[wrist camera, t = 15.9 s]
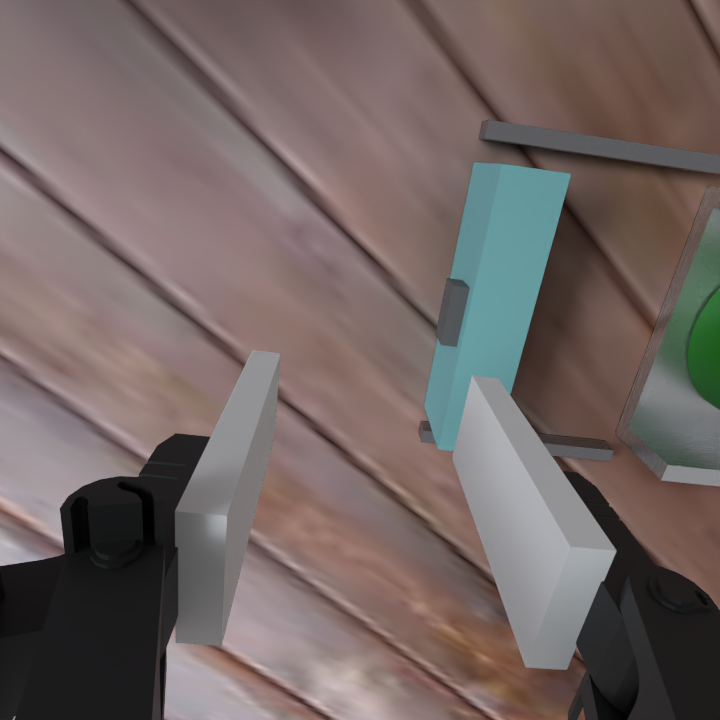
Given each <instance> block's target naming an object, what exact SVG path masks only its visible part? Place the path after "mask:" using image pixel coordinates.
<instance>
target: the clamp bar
mask: <svg viewBox="0 0 720 720" xmlns="http://www.w3.org/2000/svg"><path fill="white" fill-rule="evenodd" d="M570 177H571V174H568V173H561V172H555V171H548V170H541V169H534V168H528V167H521V166H514V165H507V164H497V163H477V162H474V164H473V169H472V174H471V179H470V184H469V188H468V193H467V198H466V203H465V208H464V213H463V218H462V223H461V227H460V232H459V237H458V242H457V247H456V252H455V257H454V262H453V266H452V271H451V276H450V278H447V281H446V286H445V290H444V295H443V300H442V305H441V310H440V315H439V320H438V325H437V330H436V336H437V338H438V340H437V344H436V349H435V354H434V359H433V364H432V369H431V374H430V379H429V383H428V388H427V393H426V398H425V403H424V407H425V410H426V413H427V416H428V419H429V423H430V426H431V429H432V432H433V435H434V439H435V442H436V445H437V448H438V450H448V451H454V448H455V444H456V440H457V436H458V432H459V427H460V423H461V419H462V415H463V411H464V407H465V402H466V398H467V394H468V390H469V386H470V382H471V377H472V375H473V376H482V377H491V378H499V380H500V381H501V383H502V384H503V386H504V387H505V389H506V390H507V392H508V393H509V395H510V394H511V391H512V387H513V384H514V380H515V376H516V373H517V369H518V365H519V362H520V358H521V354H522V351H523V347H524V344H525V340H526V336H527V333H528V329H529V325H530V322H531V318H532V315H533V311H534V307H535V304H536V300H537V296H538V293H539V289H540V286H541V282H542V278H543V275H544V271H545V267H546V264H547V260H548V257H549V253H550V249H551V246H552V242H553V238H554V235H555V231H556V228H557V224H558V220H559V217H560V213H561V209H562V206H563V202H564V198H565V195H566V191H567V188H568V184H569V180H570Z"/></svg>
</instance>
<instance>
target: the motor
mask: <svg viewBox="0 0 720 720" xmlns="http://www.w3.org/2000/svg"><path fill="white" fill-rule="evenodd" d="M688 368H689V373H690V377H691V380H692V382H693V384H694V386H695V388H696V390H697V391H698V392H699V394H700V395H701V396H702V397H703V398H704V399H705V400H706V401H707V402H709V403H710V404H711V405H713V406H714V407H716V408H717V409H719V410H720V288H719V289H718V290H717V291H716V293H715V294H714V295H713V296H712V297H711V299H710V300H709V301H708V303H707V304H706V306H705V307H704V309H703V310H702V312H701V314H700V316H699V318H698V319H697V322H696V324H695V326H694V329H693V332H692V335H691V338H690V342H689V348H688Z"/></svg>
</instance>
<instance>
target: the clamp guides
mask: <svg viewBox="0 0 720 720" xmlns="http://www.w3.org/2000/svg"><path fill="white" fill-rule="evenodd" d="M479 139H482V140H489V141H495V142H502V143H509V144H515V145H522V146H528V147H535V148H542V149H548V150H555V151H561V152H568V153H575V154H581V155H588V156H595V157H601V158H608V159H614V160H621V161H628V162H634V163H641V164H647V165H654V166H661V167H667V168H674V169H681V170H687V171H694V172H700V173H715V174H719V173H720V156H719V155H713V154H707V153H700V152H694V151H687V150H681V149H674V148H668V147H661V146H655V145H648V144H642V143H635V142H629V141H622V140H616V139H609V138H603V137H596V136H590V135H583V134H577V133H570V132H564V131H557V130H551V129H545V128H538V127H532V126H525V125H519V124H512V123H506V122H499V121H493V120H486V121H482V125H481V130H480V135H479ZM536 434H537V435H538V437H539V438H540V440H541V441H542V443H543V444H544V446H545V447H546V448H547V450H548V451H549V453H550V454H551V456H561V457H570V458H580V459H590V460H599V461H609V462H610V460H611V457H612V455H613V452H614V450H613V449H612V448H611V447H610V446H609V445H608V444H607V442H606V441H605V440H596V439H586V438H577V437H568V436H558V435H549V434H540V433H536ZM419 436H420V439H421V442H426V443H435V444H436V442H435V439H434V435H433V432H432V429H431V426H430V423H429V422H427V421H421V422H420V427H419Z"/></svg>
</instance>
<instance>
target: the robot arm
mask: <svg viewBox="0 0 720 720" xmlns="http://www.w3.org/2000/svg"><path fill="white" fill-rule="evenodd" d="M280 356H281V353H273V352H264V351H255V350H252V352H251V354H250V356H249V358H248V360H247V363H246V365H245V367H244V369H243V371H242V373H241V375H240V377H239V379H238V381H237V383H236V385H235V387H234V390H233V392H232V394H231V396H230V398H229V400H228V402H227V404H226V406H225V408H224V410H223V412H222V414H221V417H220V419H219V421H218V423H217V425H216V427H215V429H214V431H213V433H212V435H211V437H206V436H196V435H186V434H174V435H173V436H171V437H170V438H168V439H167V440H165V441H164V442H162V443H161V444H159V445H158V446H157V447H156V449H155V450H154V452H153V453H152V455H151V456H150V458H149V460H148V463H147V464H145V466H144V467H143V469H142V470H141V472H140V473H139V477H123V476H119V477H113V478H107V479H101V480H98V481H95V482H93V483H90V484H88V485H85V486H83V487H81V488H80V489H78V490H77V491H75V492H74V493H73V494H71V495H70V496H68V498H67V499H66V501H65V502H64V503H63V505H62V506H61V508H60V513H61V522H62V531H63V540H64V549H65V554H63V555H60V556H57V557H53V558H48V559H44V560H38V561H32V562H25V563H18V564H12V565H5V566H0V720H12V719H13V718H14V716H16V717H15V720H164V704H165V686H166V667H167V663H166V647H167V644H168V642H169V639H170V636H171V633H172V631H173V628H174V625H175V623H176V643H190V644H204V645H218V646H222V642H223V638H224V634H225V630H226V626H227V622H228V618H229V614H230V610H231V606H232V602H233V598H234V594H235V590H236V587H237V583H238V579H239V575H240V571H241V567H242V563H243V559H244V555H245V551H246V547H247V543H248V539H249V535H250V531H251V528H252V524H253V520H254V516H255V512H256V508H257V504H258V500H259V496H260V492H261V488H262V484H263V480H264V476H265V472H266V469H267V465H268V461H269V457H270V453H271V449H272V445H273V441H274V430H275V418H276V406H277V393H278V381H279V368H280ZM452 459H453V462H454V465H455V468H456V471H457V474H458V476H459V479H460V482H461V485H462V488H463V491H464V494H465V496H466V499H467V502H468V505H469V508H470V511H471V513H472V516H473V519H474V522H475V525H476V528H477V531H478V533H479V536H480V539H481V542H482V545H483V548H484V551H485V553H486V556H487V559H488V562H489V565H490V568H491V570H492V573H493V576H494V579H495V582H496V585H497V588H498V590H499V593H500V596H501V599H502V602H503V605H504V607H505V610H506V613H507V616H508V619H509V622H510V625H511V627H512V630H513V633H514V636H515V639H516V642H517V644H518V647H519V650H520V653H521V656H522V659H523V662H524V664H525V667H530V668H545V669H559V670H567V668H568V666H569V663H570V661H571V659H572V656H573V654H574V651H575V649H576V647H578V649H579V651H580V653H581V655H582V658H583V660H584V662H585V664H586V666H587V670H586V672H585V674H584V677H583V679H582V681H581V684H580V686H579V688H578V690H577V693H576V695H575V697H574V699H573V702H572V704H571V706H570V708H569V712H568V720H577V718H578V716H579V714H580V712H581V709H582V707H583V708H584V714H585V719H586V720H720V610H719V609H718V607H717V606H716V604H715V603H714V602H713V600H712V599H711V598H710V596H709V595H708V594H707V593H705V592H704V591H703V590H702V589H701V588H700V587H698V586H697V585H696V584H695V583H694V582H692V581H690V580H689V579H687V578H685V577H684V576H682V575H680V574H678V573H676V572H674V571H671V570H668V569H666V568H663V567H660V566H656V565H655V564H654V563H653V561H652V560H651V559H650V557H649V556H648V555H647V553H646V552H645V551H644V549H643V548H642V547H641V545H640V544H639V543H638V541H637V540H636V539H635V538H634V536H633V535H632V534H631V532H630V531H629V530H628V528H627V527H626V526H625V524H624V523H623V522H622V521H619V516H618V515H617V514H616V512H615V511H614V510H613V508H612V507H609V503H608V502H607V501H606V499H605V498H604V497H603V495H602V494H601V493H600V491H599V490H598V489H597V487H595V486H594V485H593V484H592V483H590V482H589V481H588V480H586V479H585V478H584V477H582V476H581V475H580V474H579V473H577V472H567V471H562V470H561V469H560V467H559V466H558V465H557V463H556V462H555V460H554V459H553V457H552V456H551V454H550V453H549V451H548V450H547V448H546V447H545V446H544V444H543V443H542V441H541V440H540V438H539V437H538V435H537V434H536V432H535V431H534V430H533V428H532V427H531V425H530V424H529V422H528V421H527V419H526V418H525V416H524V415H523V413H522V412H521V411H520V409H519V408H518V406H517V405H516V403H515V402H514V400H513V399H512V397H511V396H510V395H509V393H508V392H507V390H506V389H505V387H504V386H503V384H502V383H501V381H500V380H499V378H491V377H482V376H473V375H472V377H471V382H470V386H469V390H468V394H467V398H466V402H465V407H464V411H463V415H462V419H461V423H460V427H459V432H458V436H457V440H456V444H455V448H454V452H453V457H452Z"/></svg>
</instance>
